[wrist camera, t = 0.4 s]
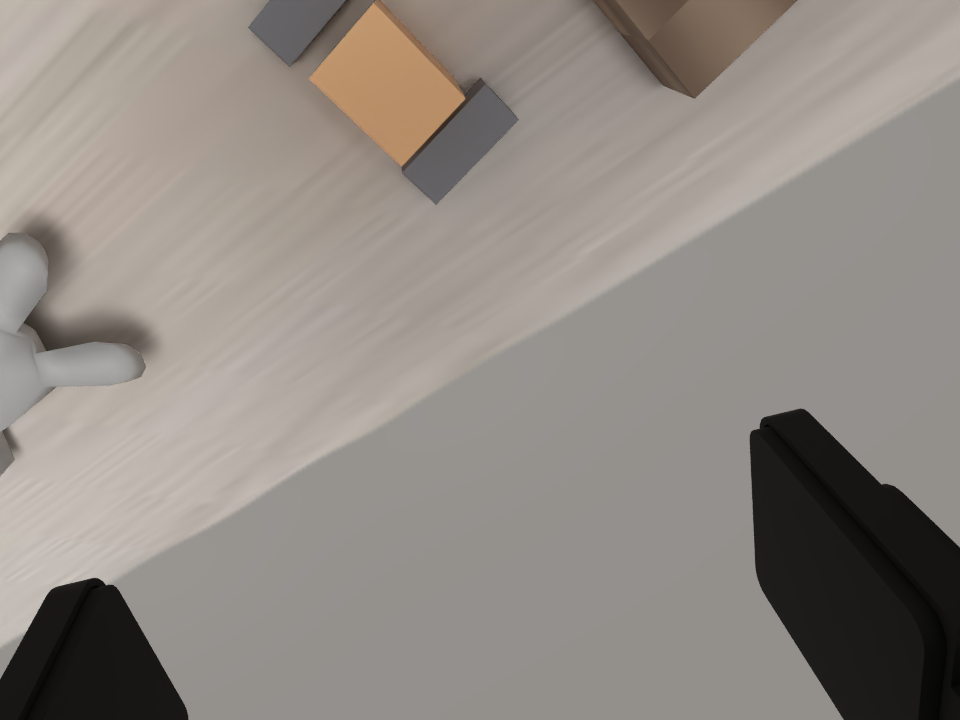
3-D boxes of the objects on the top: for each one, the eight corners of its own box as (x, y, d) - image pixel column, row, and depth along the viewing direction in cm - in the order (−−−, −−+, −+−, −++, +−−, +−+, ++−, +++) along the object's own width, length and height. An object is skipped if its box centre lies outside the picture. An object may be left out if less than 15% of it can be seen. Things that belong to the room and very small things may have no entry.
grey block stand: (337, -75, 29) (333, -78, 28) (512, 111, 33) (518, 119, 31) (256, 24, 31) (247, 27, 29) (434, 193, 34) (436, 204, 33)
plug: (377, -2, 31) (373, 2, 25) (454, 78, 32) (465, 98, 27) (323, 61, 32) (308, 78, 26) (400, 136, 33) (401, 166, 28)
